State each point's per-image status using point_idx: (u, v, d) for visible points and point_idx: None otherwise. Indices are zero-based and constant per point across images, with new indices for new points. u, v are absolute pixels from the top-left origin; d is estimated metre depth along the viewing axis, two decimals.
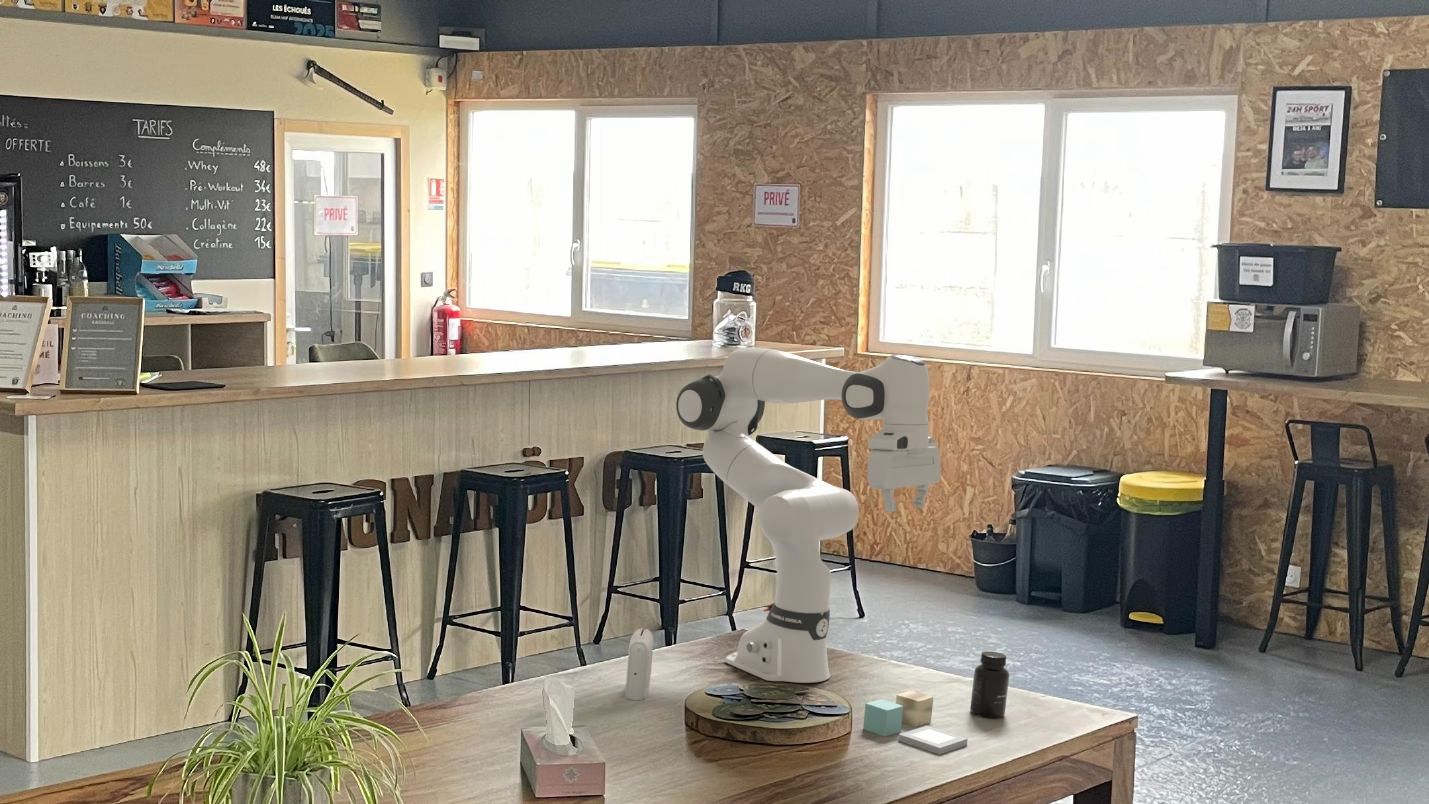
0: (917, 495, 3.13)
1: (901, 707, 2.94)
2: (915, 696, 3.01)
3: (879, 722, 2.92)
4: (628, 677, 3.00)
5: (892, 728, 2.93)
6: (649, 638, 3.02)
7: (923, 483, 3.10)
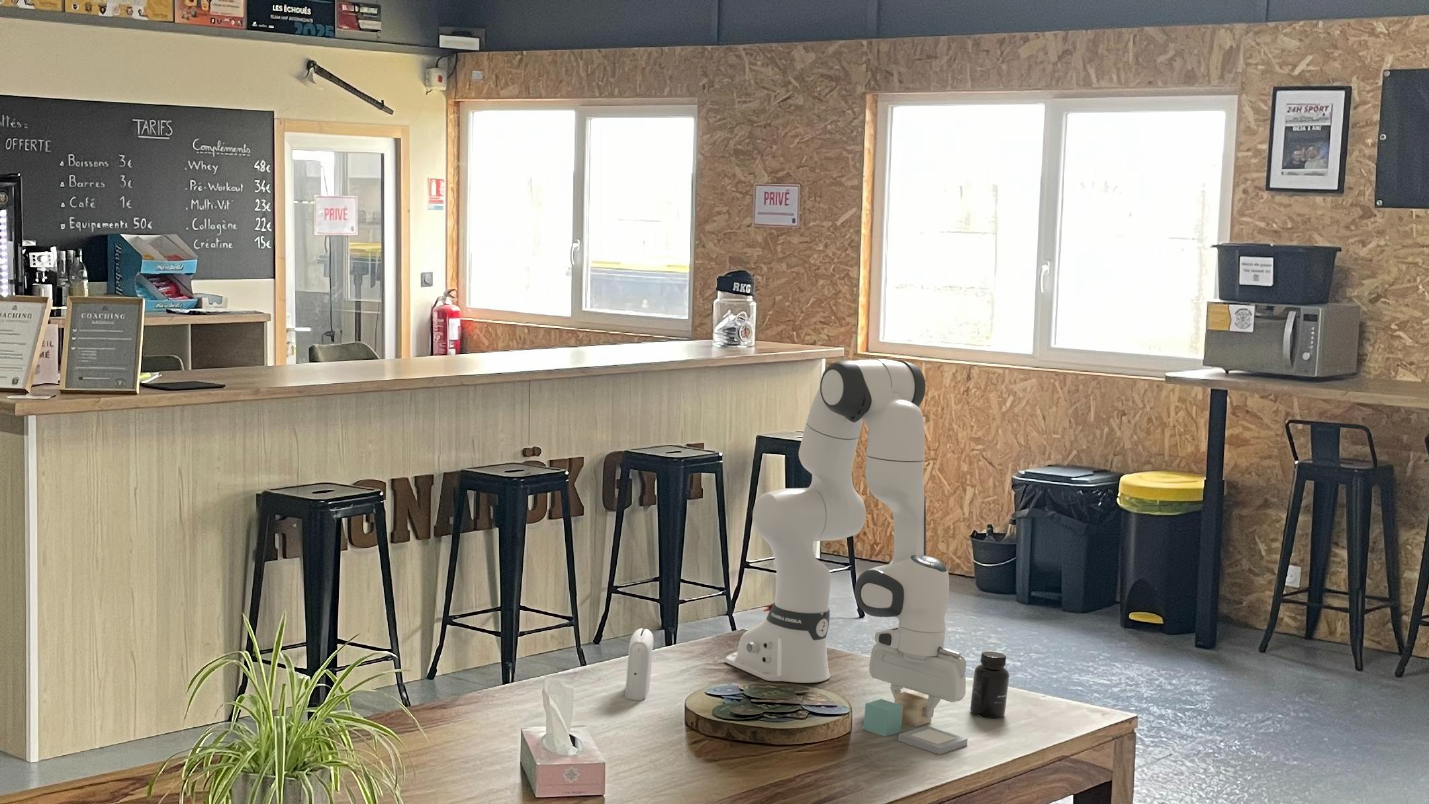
0: None
1: (901, 707, 2.94)
2: (916, 696, 3.01)
3: (879, 722, 2.92)
4: (628, 677, 3.00)
5: (892, 728, 2.93)
6: (649, 638, 3.02)
7: (926, 693, 2.98)
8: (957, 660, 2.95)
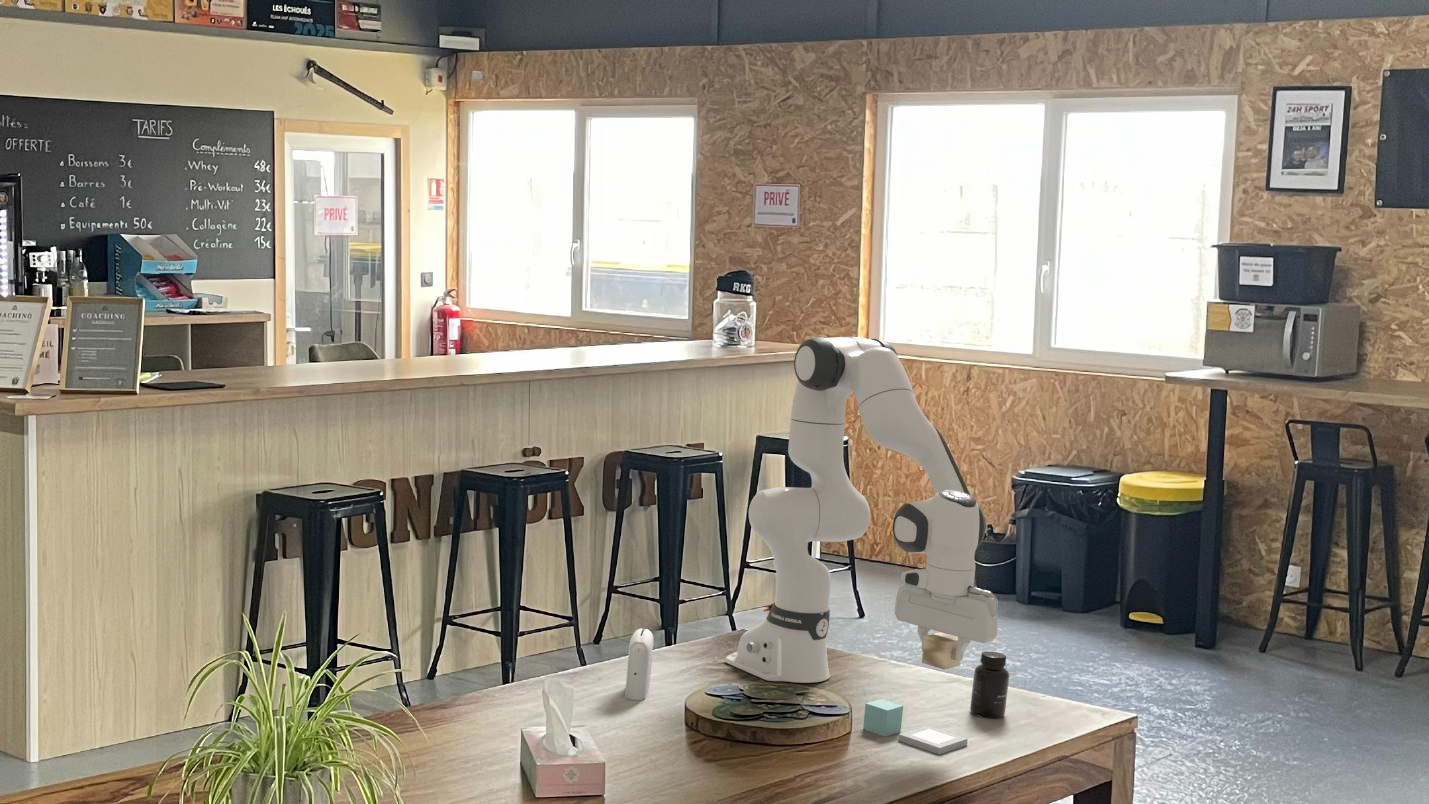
0: None
1: (901, 707, 2.94)
2: (944, 638, 2.87)
3: (879, 722, 2.92)
4: (628, 677, 3.00)
5: (892, 728, 2.93)
6: (649, 638, 3.02)
7: (956, 634, 2.84)
8: (988, 599, 2.81)
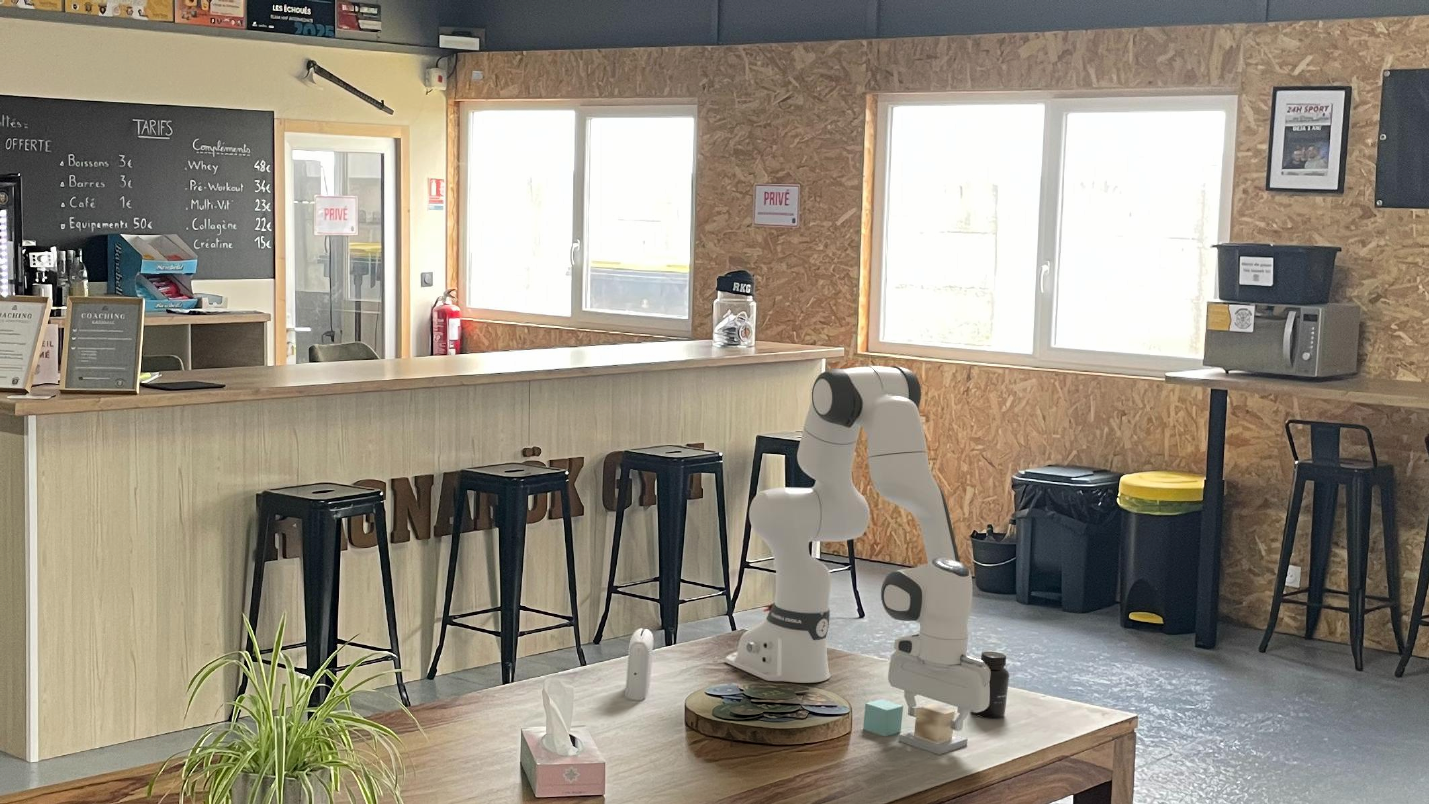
0: None
1: (901, 707, 2.94)
2: (936, 710, 2.89)
3: (879, 722, 2.92)
4: (628, 677, 3.00)
5: (892, 728, 2.93)
6: (649, 638, 3.02)
7: (949, 703, 2.85)
8: (981, 668, 2.82)
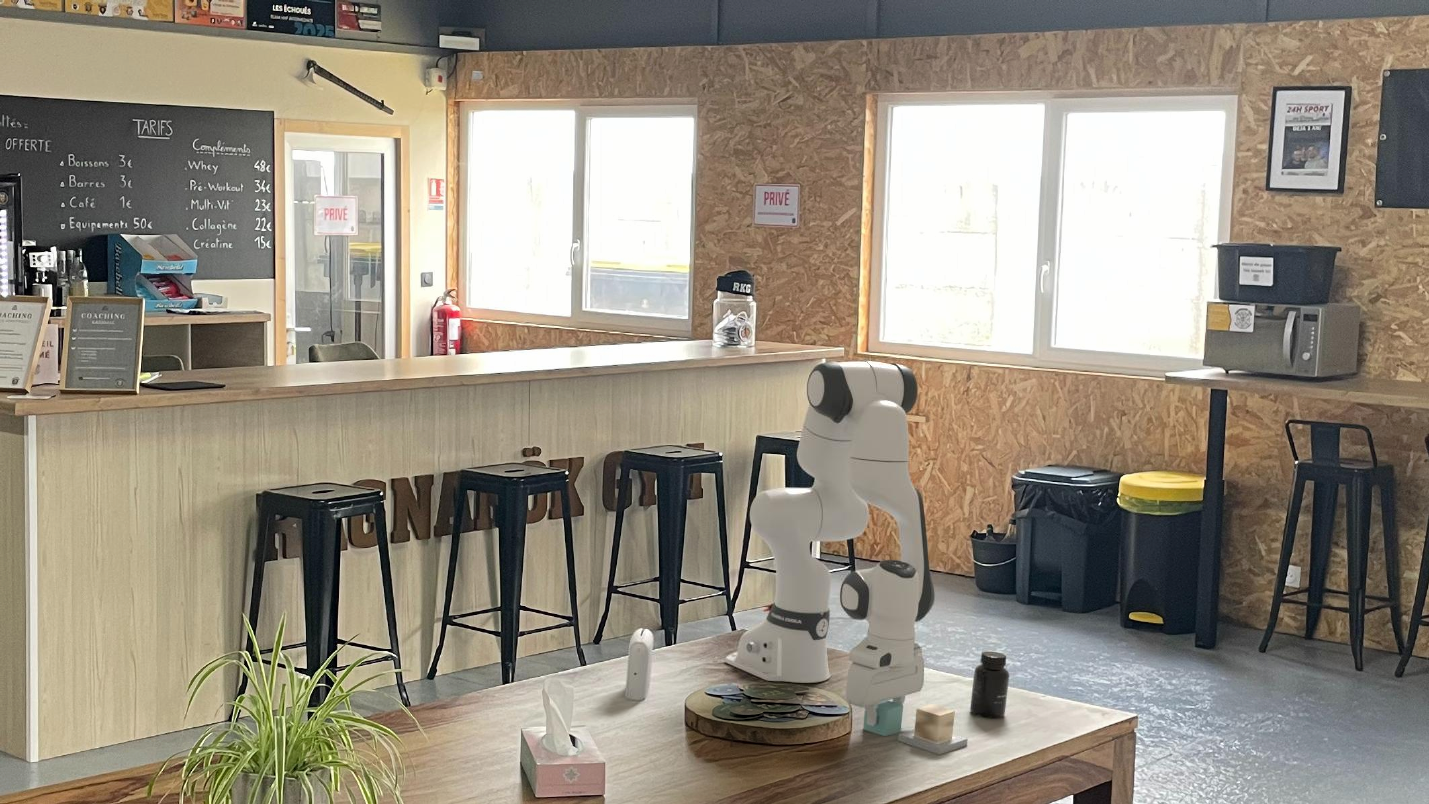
0: None
1: (901, 706, 2.94)
2: (936, 710, 2.89)
3: (879, 721, 2.92)
4: (628, 677, 3.00)
5: (892, 727, 2.93)
6: (649, 638, 3.02)
7: (904, 694, 2.96)
8: (917, 650, 3.00)
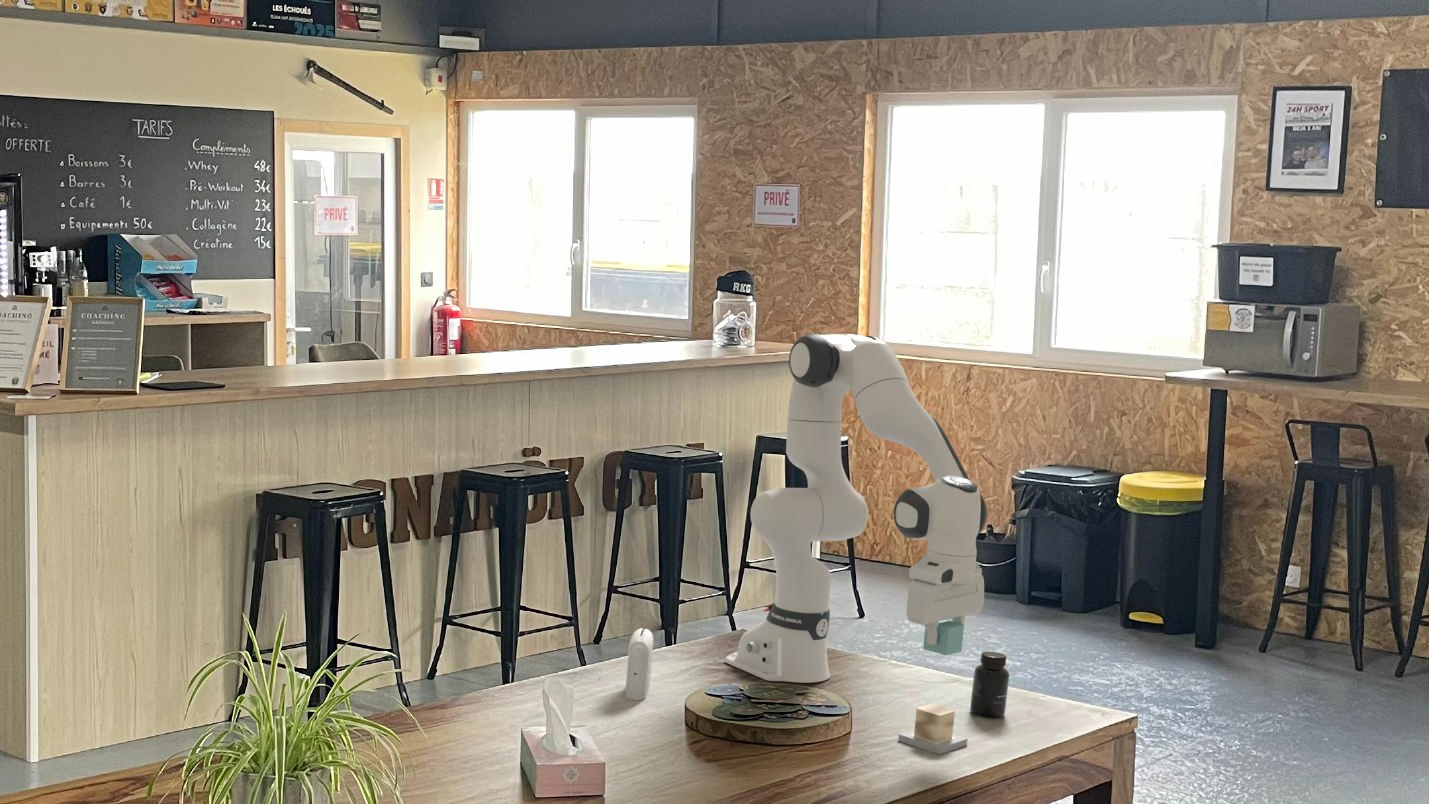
0: None
1: (962, 626, 2.87)
2: (936, 710, 2.89)
3: (940, 640, 2.85)
4: (628, 677, 3.00)
5: (953, 647, 2.86)
6: (649, 638, 3.02)
7: (964, 614, 2.89)
8: (977, 570, 2.93)
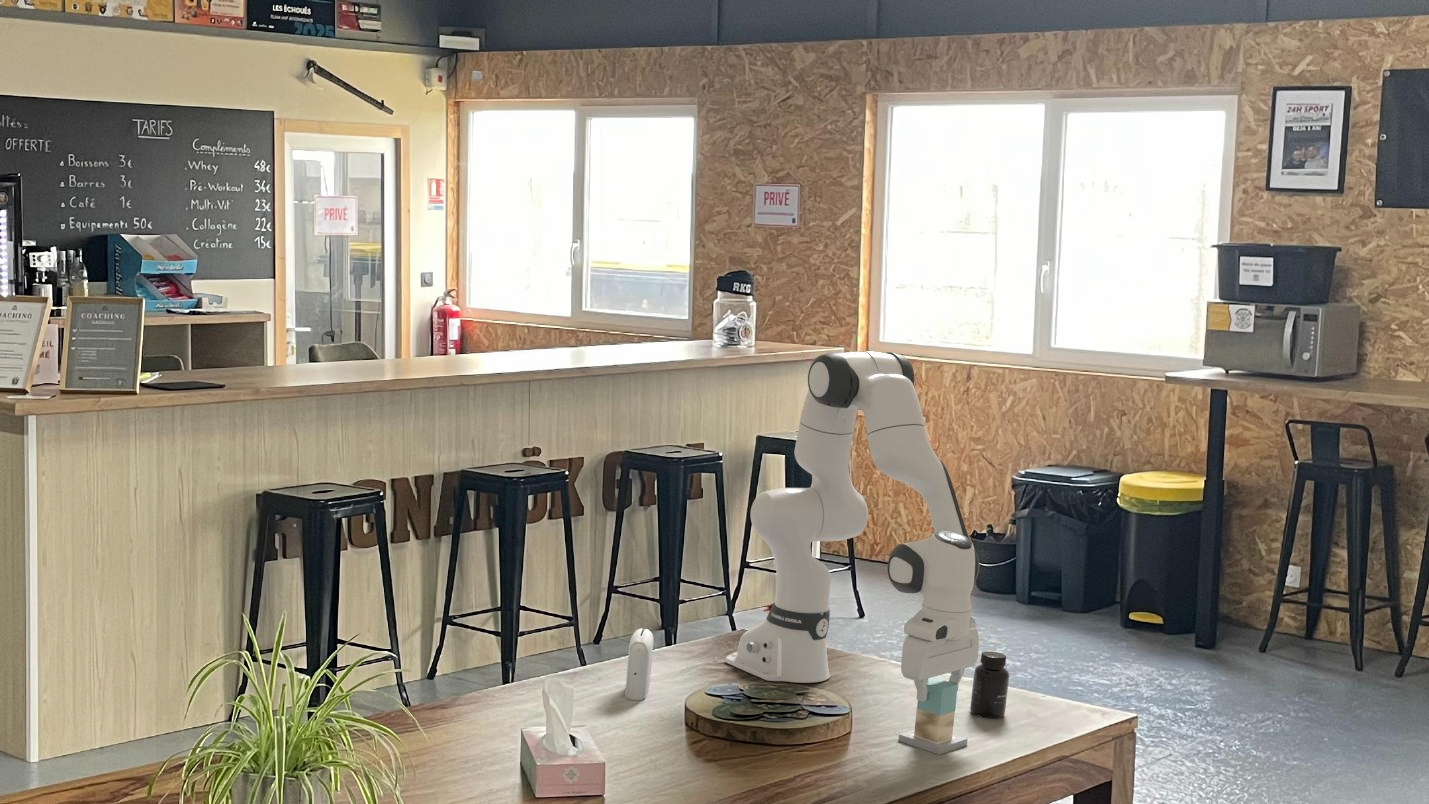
0: (951, 678, 2.93)
1: (956, 686, 2.89)
2: None
3: (934, 700, 2.86)
4: (628, 677, 3.00)
5: (947, 707, 2.87)
6: (649, 638, 3.02)
7: (959, 668, 2.90)
8: (972, 624, 2.94)
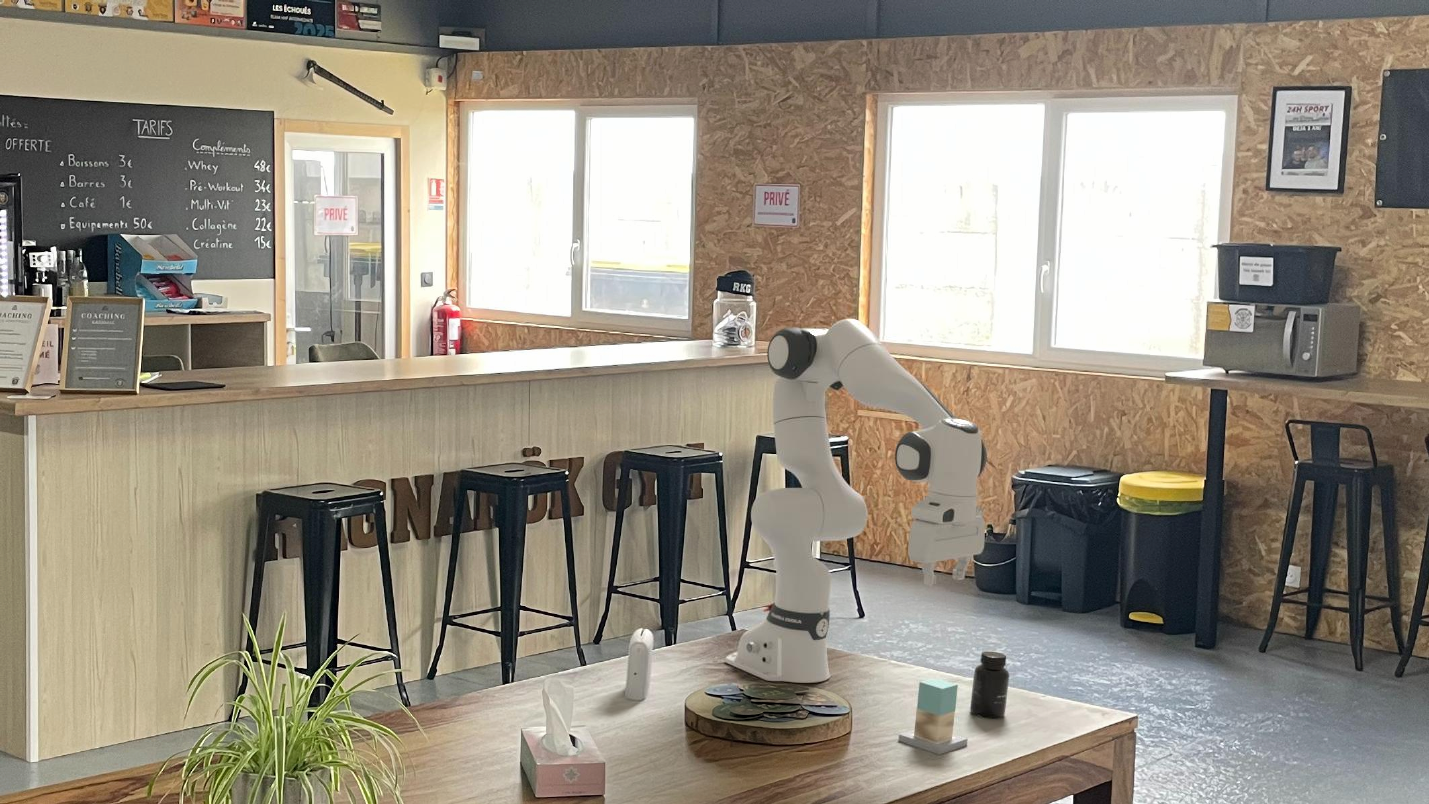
0: (957, 565, 2.95)
1: (956, 686, 2.89)
2: None
3: (934, 700, 2.86)
4: (628, 677, 3.00)
5: (947, 707, 2.87)
6: (649, 638, 3.02)
7: (965, 555, 2.92)
8: (978, 512, 2.96)
